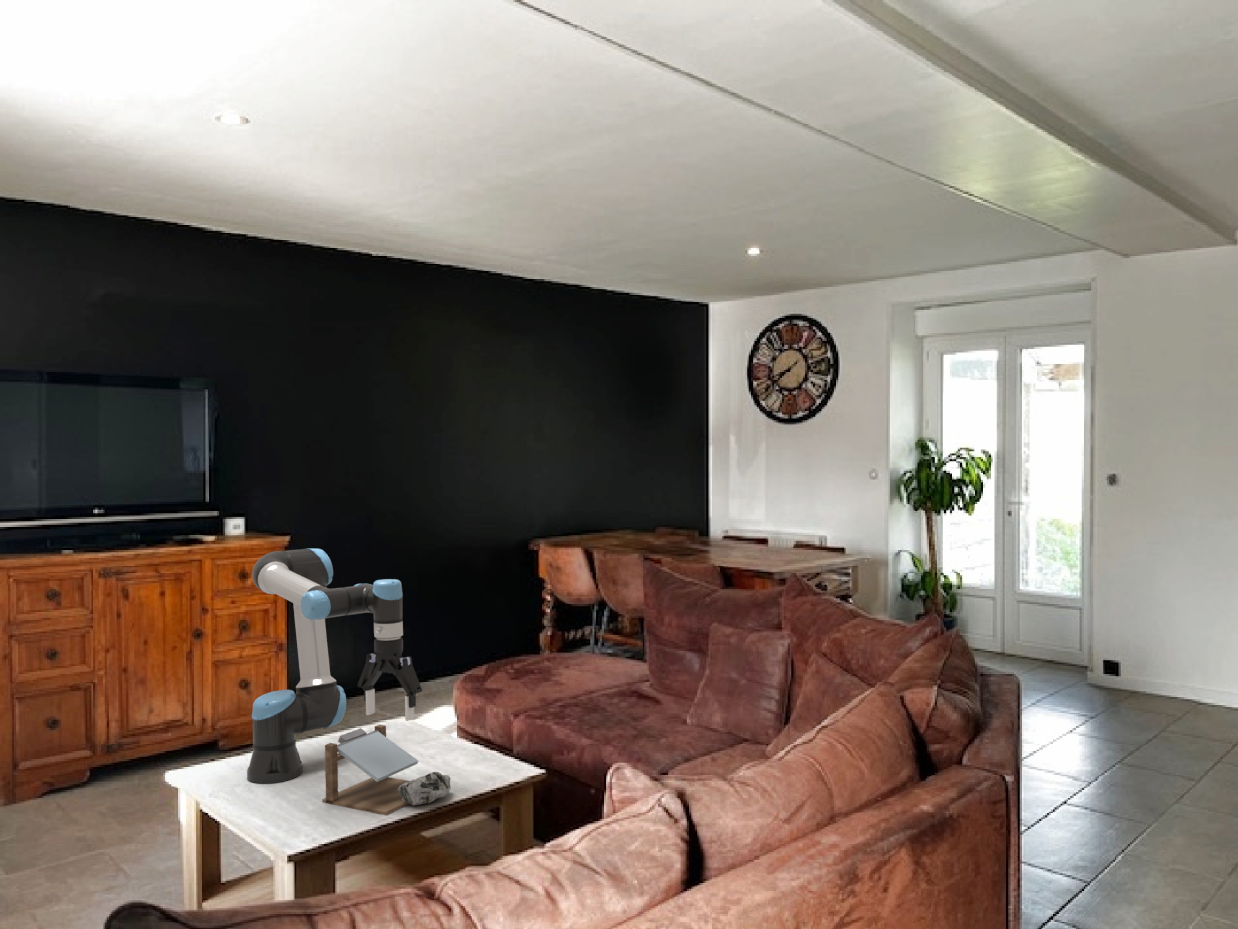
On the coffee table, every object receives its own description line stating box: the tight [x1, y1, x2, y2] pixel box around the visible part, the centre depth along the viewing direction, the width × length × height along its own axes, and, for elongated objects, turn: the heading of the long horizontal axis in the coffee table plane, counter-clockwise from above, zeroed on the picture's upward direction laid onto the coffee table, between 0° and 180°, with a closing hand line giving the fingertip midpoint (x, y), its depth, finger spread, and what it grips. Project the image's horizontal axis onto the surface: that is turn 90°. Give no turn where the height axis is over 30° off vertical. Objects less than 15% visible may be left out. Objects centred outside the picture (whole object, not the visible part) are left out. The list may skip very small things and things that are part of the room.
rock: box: [398, 771, 452, 806], centre depth 248 cm, size 15×10×7 cm
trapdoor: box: [337, 728, 419, 782], centre depth 253 cm, size 19×17×2 cm
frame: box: [321, 724, 411, 816], centre depth 252 cm, size 22×21×15 cm
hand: (389, 716), depth 250 cm, fingers open, 13 cm apart
